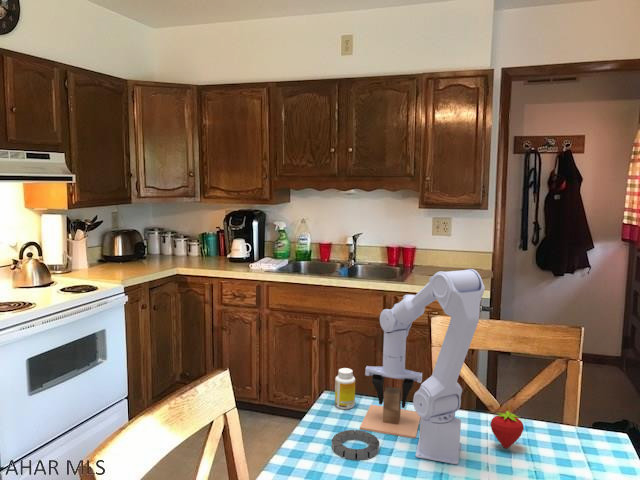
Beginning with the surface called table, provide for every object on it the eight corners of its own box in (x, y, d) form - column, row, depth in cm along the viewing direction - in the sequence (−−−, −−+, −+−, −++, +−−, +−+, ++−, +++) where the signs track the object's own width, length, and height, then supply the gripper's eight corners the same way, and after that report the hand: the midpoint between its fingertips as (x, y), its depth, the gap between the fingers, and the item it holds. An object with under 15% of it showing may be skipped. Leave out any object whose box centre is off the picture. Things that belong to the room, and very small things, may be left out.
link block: (400, 417, 135) (401, 388, 134) (398, 424, 131) (399, 394, 131) (385, 415, 136) (386, 386, 135) (382, 422, 133) (383, 392, 132)
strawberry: (486, 440, 126) (488, 401, 124) (518, 442, 125) (520, 403, 124) (492, 452, 120) (494, 412, 119) (525, 455, 119) (528, 414, 118)
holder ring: (382, 440, 124) (382, 434, 124) (373, 463, 114) (374, 457, 114) (338, 432, 128) (339, 427, 127) (326, 455, 117) (326, 448, 117)
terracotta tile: (421, 414, 139) (421, 412, 139) (415, 438, 126) (415, 436, 125) (370, 406, 143) (370, 404, 143) (359, 429, 130) (359, 427, 130)
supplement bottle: (358, 406, 143) (359, 371, 141) (343, 411, 139) (344, 375, 138) (345, 399, 147) (346, 365, 146) (330, 404, 143) (331, 369, 142)
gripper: (424, 352, 134) (421, 402, 135) (369, 346, 138) (368, 394, 140) (421, 361, 127) (419, 413, 129) (364, 354, 131) (362, 405, 133)
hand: (392, 404), depth 134 cm, fingers open, 5 cm apart
